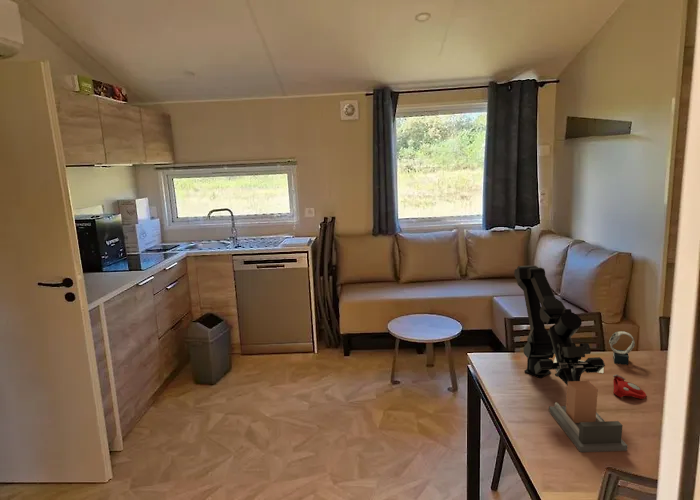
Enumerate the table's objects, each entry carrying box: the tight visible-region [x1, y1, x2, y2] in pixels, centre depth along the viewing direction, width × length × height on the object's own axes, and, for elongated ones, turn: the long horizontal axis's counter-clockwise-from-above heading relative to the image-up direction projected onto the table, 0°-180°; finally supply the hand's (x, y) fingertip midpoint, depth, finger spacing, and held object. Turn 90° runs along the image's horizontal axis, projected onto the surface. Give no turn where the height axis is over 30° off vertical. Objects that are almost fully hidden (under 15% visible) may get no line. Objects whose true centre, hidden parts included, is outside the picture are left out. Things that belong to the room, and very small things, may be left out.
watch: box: [608, 330, 636, 366], centre depth 173 cm, size 6×8×11 cm
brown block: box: [565, 380, 599, 423], centre depth 135 cm, size 5×6×10 cm
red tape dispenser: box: [612, 374, 647, 400], centre depth 153 cm, size 12×4×10 cm
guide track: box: [548, 402, 628, 453], centre depth 133 cm, size 20×12×6 cm, turn 0°
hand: (576, 394), depth 138 cm, fingers closed, pressing on brown block
